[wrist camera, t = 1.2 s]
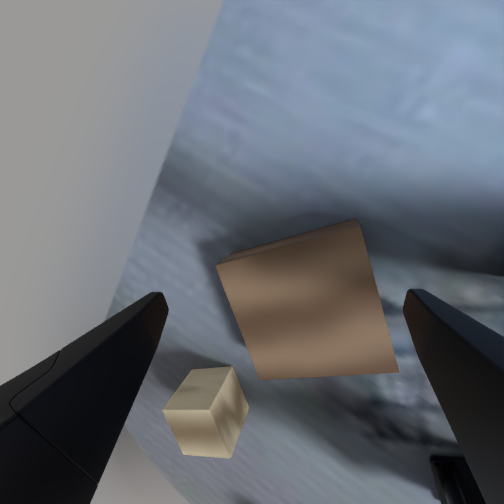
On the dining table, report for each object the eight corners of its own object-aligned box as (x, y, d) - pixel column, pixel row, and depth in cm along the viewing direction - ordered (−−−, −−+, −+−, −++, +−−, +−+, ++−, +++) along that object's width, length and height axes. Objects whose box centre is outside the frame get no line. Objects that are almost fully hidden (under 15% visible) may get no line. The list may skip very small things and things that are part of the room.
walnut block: (388, 340, 23) (399, 372, 19) (269, 352, 27) (259, 380, 24) (355, 217, 21) (360, 226, 17) (232, 252, 25) (215, 265, 21)
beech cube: (249, 407, 30) (230, 458, 25) (209, 407, 32) (183, 454, 27) (232, 365, 29) (209, 409, 24) (192, 369, 31) (161, 409, 26)
